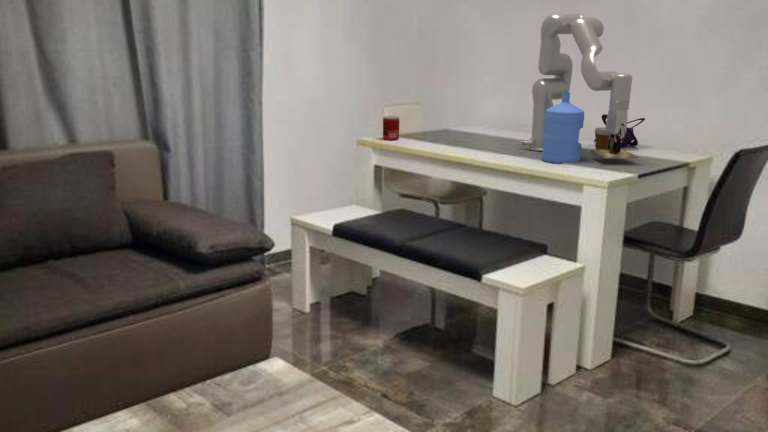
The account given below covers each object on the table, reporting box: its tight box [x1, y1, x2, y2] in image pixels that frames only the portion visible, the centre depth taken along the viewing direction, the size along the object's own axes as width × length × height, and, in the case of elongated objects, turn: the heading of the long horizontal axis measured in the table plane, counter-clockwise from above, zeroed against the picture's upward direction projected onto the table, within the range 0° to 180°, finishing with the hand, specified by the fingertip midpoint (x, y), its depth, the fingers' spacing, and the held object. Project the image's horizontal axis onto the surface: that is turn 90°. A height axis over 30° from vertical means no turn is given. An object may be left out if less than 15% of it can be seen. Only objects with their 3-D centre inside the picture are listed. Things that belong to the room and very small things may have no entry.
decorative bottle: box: [593, 113, 646, 148], centre depth 336 cm, size 22×21×25 cm
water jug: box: [541, 91, 585, 165], centre depth 297 cm, size 16×16×28 cm
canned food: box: [382, 115, 400, 142], centre depth 351 cm, size 8×8×11 cm
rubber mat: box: [586, 158, 645, 167], centre depth 293 cm, size 18×16×1 cm
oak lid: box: [590, 137, 639, 159], centre depth 292 cm, size 14×14×7 cm
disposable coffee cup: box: [593, 127, 609, 156], centre depth 310 cm, size 10×10×12 cm
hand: (614, 150), depth 293 cm, fingers closed on oak lid, 3 cm apart
